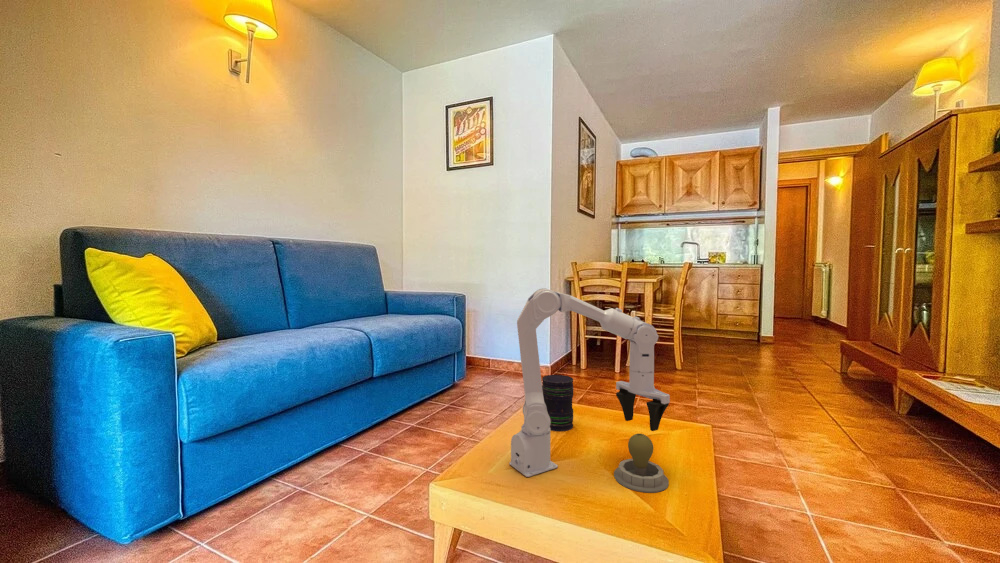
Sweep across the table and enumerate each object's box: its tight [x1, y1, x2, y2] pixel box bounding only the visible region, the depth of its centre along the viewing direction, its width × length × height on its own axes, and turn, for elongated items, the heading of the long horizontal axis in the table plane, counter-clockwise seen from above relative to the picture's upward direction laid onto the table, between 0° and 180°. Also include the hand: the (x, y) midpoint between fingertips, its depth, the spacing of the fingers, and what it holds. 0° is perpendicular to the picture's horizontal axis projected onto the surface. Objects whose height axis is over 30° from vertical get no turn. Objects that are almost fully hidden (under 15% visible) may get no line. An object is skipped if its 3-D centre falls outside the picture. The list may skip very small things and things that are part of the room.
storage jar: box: [541, 374, 574, 432], centre depth 126 cm, size 10×10×15 cm
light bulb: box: [627, 433, 654, 476], centre depth 93 cm, size 6×6×10 cm
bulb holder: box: [613, 458, 670, 494], centre depth 93 cm, size 12×12×2 cm
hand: (641, 424), depth 99 cm, fingers open, 7 cm apart
